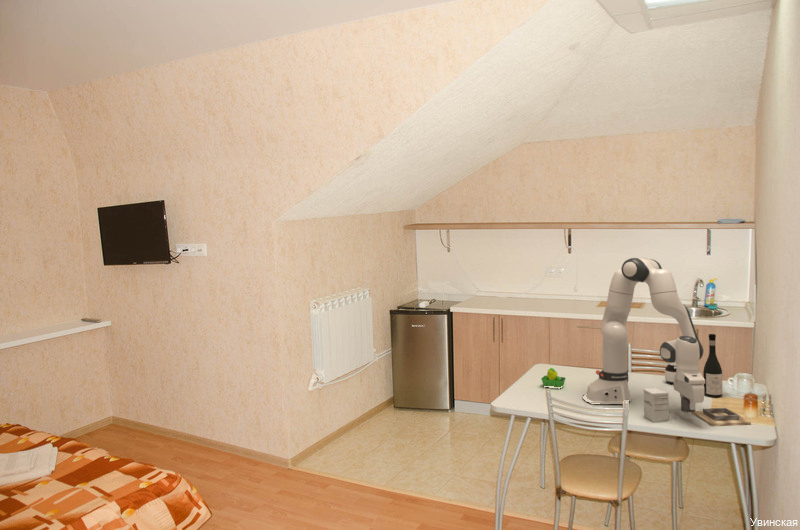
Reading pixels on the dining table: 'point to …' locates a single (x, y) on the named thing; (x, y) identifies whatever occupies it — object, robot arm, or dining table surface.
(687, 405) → the dark grey cylinder
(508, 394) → the dining table surface
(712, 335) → the wine bottle
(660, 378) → the dining table surface
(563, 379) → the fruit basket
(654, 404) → the supplement box
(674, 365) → the spread jar
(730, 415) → the holder board
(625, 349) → the robot arm
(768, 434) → the dining table surface
